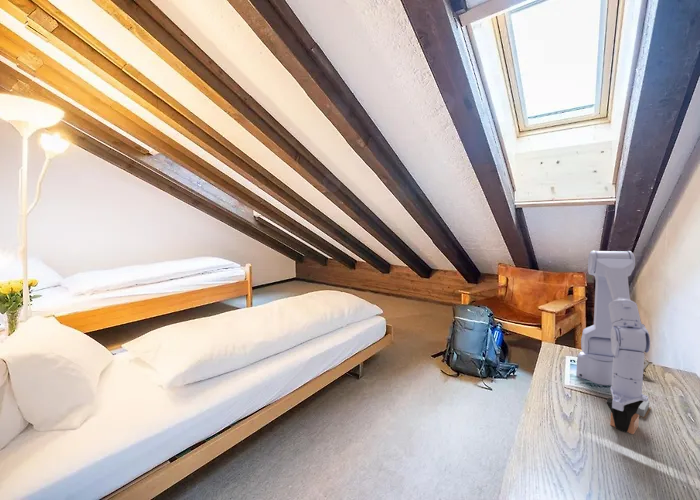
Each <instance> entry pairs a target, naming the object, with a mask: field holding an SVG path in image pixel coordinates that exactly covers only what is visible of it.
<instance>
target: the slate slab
mask: <svg viewBox="0 0 700 500" xmlns="http://www.w3.org/2000/svg"><path fill="white" fill-rule="evenodd" d="M649 407H650V400H649V399H648V401H647V402H645V401H643V402H642V403H641V404H640V406H639V408H638V410H637V413H636V414H639V416H642V417H644V416H645V414H646V412H647V410H648V408H649ZM642 417H641V418H642Z"/></svg>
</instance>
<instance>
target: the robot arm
mask: <svg viewBox="0 0 700 500" xmlns="http://www.w3.org/2000/svg"><path fill="white" fill-rule="evenodd" d="M635 266H636V257H635V254H634V252H632V251H631V250H627V251H626V250H625V251H621V250H617V251H616V250H611V251H610V250H591V251H590V252H589V253H588V258H587V273H588V275H590V276H594V280H595V285H594V286H595V287H594V288H595V289H594V290H595V291H594V309H593V310H594V311H593V312H594V313H593V324H592V325H590V326H587V327H585V328H583V329H582V335H581V340H580V347H581V348H580V349H581V351H580V352H578V355H577V359H576V373H575V374H576V377H579V378H582V379H585V380H587V381H589V382H592V383H594V384H598V385H601V386H602V385H603V386H610V389H609V390H610V395H611V397H612V398H611V397H608V398H607V399H606V405H607V407H608V409H609V410H610V412H611V413H612V415H613V419H614V423H615V427H614V428H615V429H617V430H619V431H622V432H624V433H628V432H627V430H628V428H629V425H630V422H631V419H632V416H633V415H634V414H635V413H637V410H638V408H639V406H640V404H641V403H642V402H643V401H645V402H647V401H648V400H649V396H648V395H646V394H643V383H644V375H643V374H644V373H643V370H644V358H645V353H646V354H647V353H649V351H650V349H651V337H650V334H649V331H648V329H647V328H646V326H645V324H644V323H642V321H641V317H640V316H641V315H640V313H639V308H638V304H637V303H636V301H633V300H631V297H630V284H629V277H630V276H631V275H632V273H633V271H634V269H635Z"/></svg>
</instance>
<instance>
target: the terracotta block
mask: <svg viewBox="0 0 700 500" xmlns="http://www.w3.org/2000/svg"><path fill="white" fill-rule="evenodd" d="M639 422H640V417H639V414H636V413H635V414H634V415H633V416H632V419H631V422H630V425H629V428H628V430H627V432H626V433H629V434H631V435H634V434H635V432H636V431H637V430H638V428H639ZM609 424H610V426H612V427H614V428H616V427H615V423H614V419H613V415H612V412H611V413H610V423H609Z"/></svg>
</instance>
